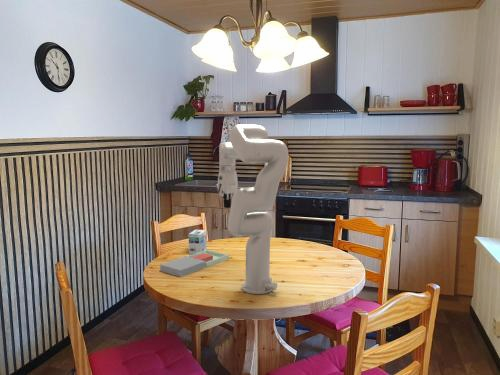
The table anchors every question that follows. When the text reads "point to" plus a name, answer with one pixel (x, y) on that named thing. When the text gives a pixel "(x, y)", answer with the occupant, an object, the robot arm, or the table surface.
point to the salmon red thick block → (204, 257)
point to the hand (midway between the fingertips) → (227, 207)
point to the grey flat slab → (182, 266)
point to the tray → (216, 257)
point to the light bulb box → (197, 241)
